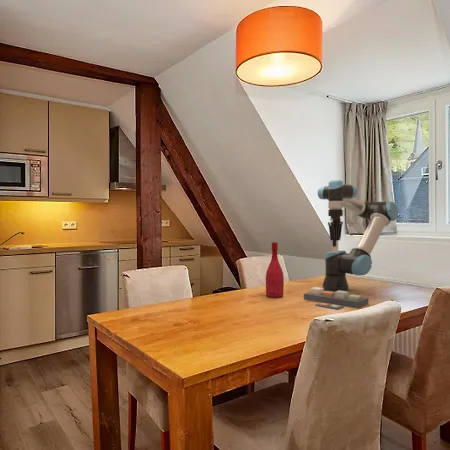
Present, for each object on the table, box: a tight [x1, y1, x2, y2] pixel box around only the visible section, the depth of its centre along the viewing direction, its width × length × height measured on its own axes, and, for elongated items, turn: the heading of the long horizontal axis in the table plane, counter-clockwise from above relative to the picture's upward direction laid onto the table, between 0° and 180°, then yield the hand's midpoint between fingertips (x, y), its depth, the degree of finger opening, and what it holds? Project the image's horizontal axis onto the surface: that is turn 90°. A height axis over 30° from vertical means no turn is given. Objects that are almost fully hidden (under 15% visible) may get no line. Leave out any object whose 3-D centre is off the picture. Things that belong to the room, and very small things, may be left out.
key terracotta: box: [322, 290, 336, 297], centre depth 206 cm, size 5×5×3 cm
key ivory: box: [310, 286, 325, 295], centre depth 210 cm, size 5×5×3 cm
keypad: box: [303, 291, 369, 309], centre depth 203 cm, size 30×12×3 cm, turn 47°
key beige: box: [334, 290, 349, 299], centre depth 201 cm, size 5×5×3 cm
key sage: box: [348, 294, 363, 301], centre depth 196 cm, size 5×5×3 cm
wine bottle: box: [265, 241, 285, 299], centre depth 216 cm, size 10×10×30 cm
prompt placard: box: [315, 302, 345, 310], centre depth 192 cm, size 12×6×1 cm, turn 47°
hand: (335, 252), depth 213 cm, fingers closed
